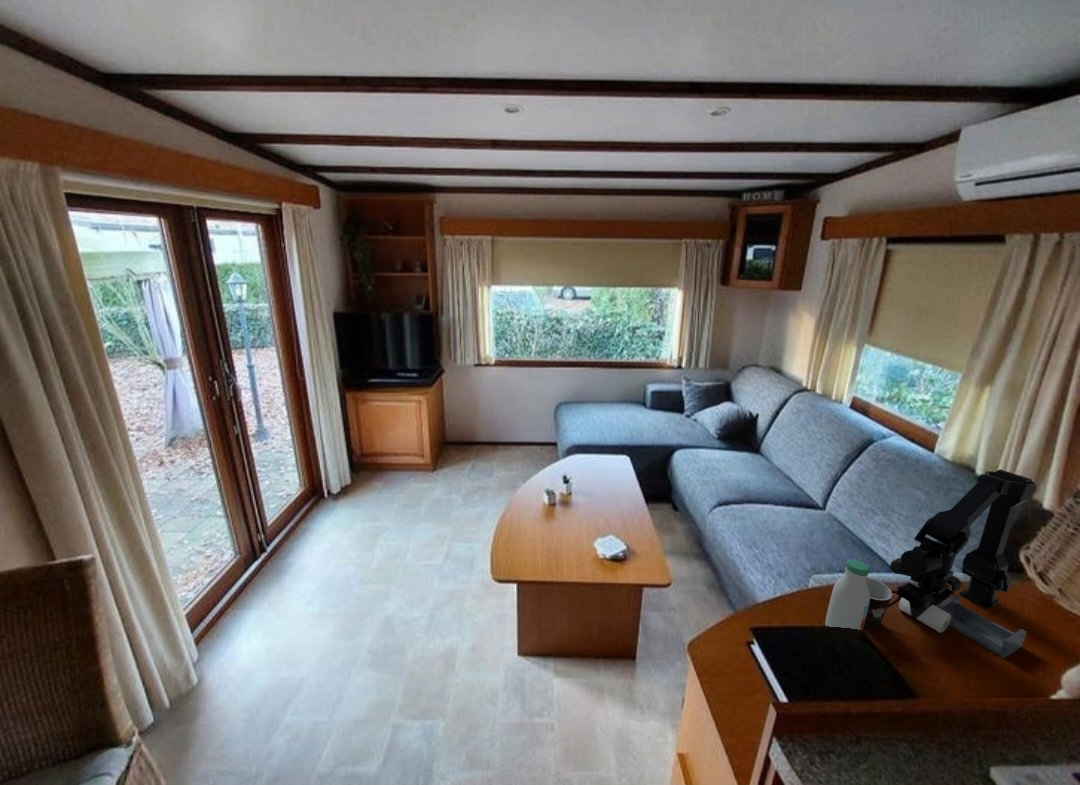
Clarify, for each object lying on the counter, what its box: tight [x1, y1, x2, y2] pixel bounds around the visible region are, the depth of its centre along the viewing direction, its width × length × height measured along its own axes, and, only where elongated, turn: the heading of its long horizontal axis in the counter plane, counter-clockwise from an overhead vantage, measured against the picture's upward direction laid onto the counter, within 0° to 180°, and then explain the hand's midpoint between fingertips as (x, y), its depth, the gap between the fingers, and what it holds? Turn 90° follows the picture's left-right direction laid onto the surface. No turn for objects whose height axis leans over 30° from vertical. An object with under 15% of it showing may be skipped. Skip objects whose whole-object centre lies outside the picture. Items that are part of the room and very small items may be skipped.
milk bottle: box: [824, 559, 870, 632], centre depth 109 cm, size 8×8×20 cm
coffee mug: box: [864, 576, 902, 629], centre depth 114 cm, size 12×9×10 cm
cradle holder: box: [937, 594, 1028, 659], centre depth 112 cm, size 9×14×4 cm, turn 24°
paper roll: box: [898, 597, 951, 634], centre depth 116 cm, size 9×6×6 cm, turn 24°
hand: (920, 613), depth 116 cm, fingers open, 6 cm apart
